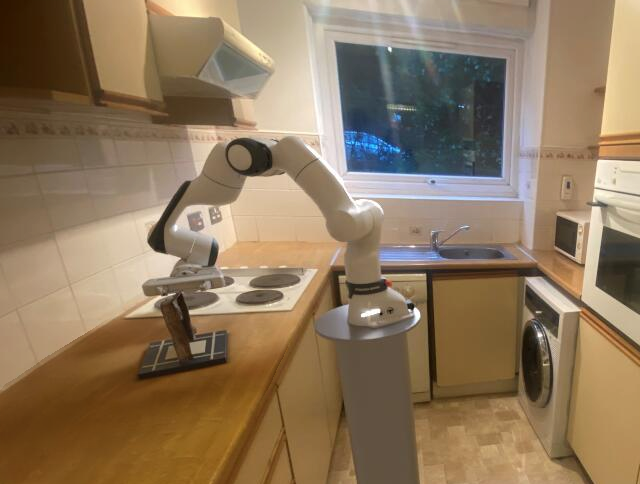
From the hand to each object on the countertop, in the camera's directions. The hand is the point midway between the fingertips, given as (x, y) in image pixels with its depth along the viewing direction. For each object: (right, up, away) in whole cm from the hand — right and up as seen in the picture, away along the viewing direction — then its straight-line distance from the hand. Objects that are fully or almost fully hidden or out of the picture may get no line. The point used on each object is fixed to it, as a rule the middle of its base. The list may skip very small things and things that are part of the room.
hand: (183, 291), depth 126 cm
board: (+8, -18, -9) cm, 22 cm away
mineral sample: (+9, -16, -10) cm, 21 cm away
